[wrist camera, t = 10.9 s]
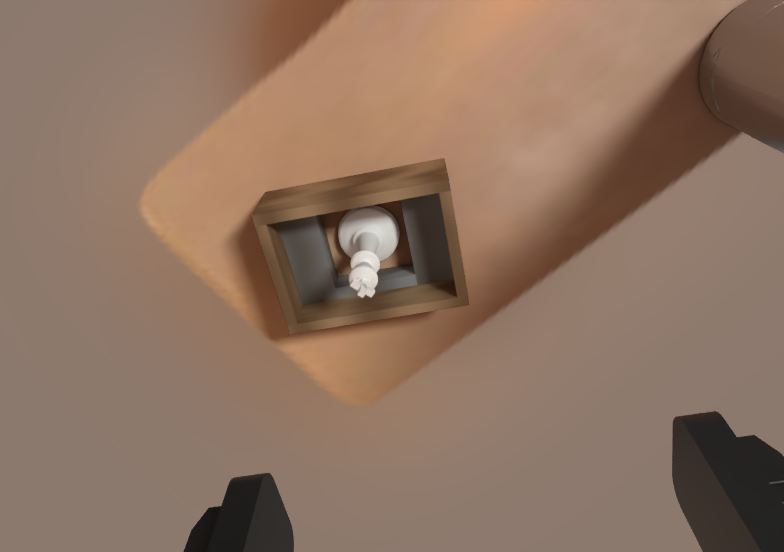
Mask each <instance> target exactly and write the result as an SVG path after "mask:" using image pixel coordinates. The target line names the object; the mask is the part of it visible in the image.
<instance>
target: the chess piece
mask: <svg viewBox="0 0 784 552" xmlns="http://www.w3.org/2000/svg"><path fill="white" fill-rule="evenodd" d="M399 237H400V230H399V226H398V223H397V221H396V219H395V218H394V216H393V215H392V214H391V213H390V212H389V211H387V210H386V209H384V208H382V207H380V206H376V205H370V206H365V207H359V208H354V209H351V210H349V211H348V212H347V213H346V214H345V215H344V216H343V218H342V219H341V221H340V223H339V227H338V238H339V243H340V245H341V248H342V249H343V251H344V252H345V253H346V254H347V255H348V256H349V257H350V258H351V262H350V266H351V269H352V271H351V272H350V275H349V283H350V286H351V287H352V288H353V289H354V290H356V291H358V293H357V295H358V296H360V297H362V298H363V297H364V296H365V294H366V295H367V296H369V297H371V298H372V296H373V295H374V293H375V289H374V288H375V287H376V285H377V283H378V276H377V272H378V270H379V268H380V262H381V261H383V260H385V259H386V258H388V257H389V256H390V255H391V254H392V253H393V252H394V250H395V249H396V247H397V244H398V242H399Z"/></svg>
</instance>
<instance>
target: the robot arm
mask: <svg viewBox="0 0 784 552" xmlns="http://www.w3.org/2000/svg"><path fill="white" fill-rule="evenodd" d="M699 82H700V90H701V93H702V96H703V99H704V102H705V103H706V105H707V107H708V108H709V110H710V111H711V112H712V113H713V114H714V115H715V116H716V117H717V118H718V119H720V120H721V121H723V122H725V123H727V124H729V125H731V126H733V127H735V128H736V129H738V130H740V131H742V132H744V133H746V134H748V135H750V136H751V137H753V138H755V139H757V140H759V141H761V142H763V143H765V144H767V145H769V146H770V147H773V148H775V149H776V150H778V151H780V152H782V153H784V0H748V1H746V2H744V3H743V4H741V5H740V6H738V7H737V8H736V9H734V10H733V11H732V12H731V13H730V14H729V15H728V16H727V17H726V18H725V19H724V20H723V21H722V22H721V23H720V25H719V26H718V27H717V28H716V30H715V31H714V32H713V34H712V36H711V38H710V40H709V42H708V43H707V45H706V47H705V50H704V53H703V56H702V59H701V64H700V72H699ZM672 453H673V455H672V476H673V484H674V489H675V492H676V496H677V499H678V502H679V504H680V507H681V509H682V511H683V513H684V515H685V517H686V519H687V521H688V523H689V525H690V527H691V529H692V530H693V533H694V535H695V536H696V538H697V540H698V543H699V545H700V547H701V548H702V550H703V552H784V456H783V455H782V454H781V453H780V452H778V451H777V450H775V449H774V448H772V447H771V446H769V445H768V444H766V443H765V442H764V441H762V440H761V439H759V438H757V437H756V436H755V435H751V436H744V437H736V435H735V434H734V432H733V431H732V430H731V429H730V427H729V425H728V424H727V422H726V421H725V420H724V418H723V417H722V416H721V415H720V414H719V413H718V412H716V411H714V412H707V413H699V414H692V415H685V416H678V417H675V418H674V420H673V452H672ZM293 551H294V539H293V530H292V526H291V523H290V520H289V517H288V515H287V512H286V510H285V507H284V504H283V502H282V499H281V497H280V494H279V491H278V489H277V486H276V484H275V481H274V479H273V477H272V475H271V474H270V473H264V474H256V475H249V476H242V477H236V478H233V479H231V481H230V483H229V485H228V488H227V491H226V494H225V497H224V500H223V503H222V506H219V507H212V508H208V510H207V511H206V512H205V513H204V515H203V516H202V517H201V519H200V520H199V521H198V522H197V524H196V525H195V526H194V528H193V529H192V530H191V533H190V536H189V538H188V541H187V544H186V547H185V549H184V552H293Z"/></svg>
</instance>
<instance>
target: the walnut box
mask: <svg viewBox="0 0 784 552" xmlns="http://www.w3.org/2000/svg"><path fill="white" fill-rule="evenodd" d="M397 200H400V202H401V207H402V212H403V217H404V222H405V227H406V231H407V236H408V241H409V246H410V251H411V256H412V261H413V264H409V265H404V266H398V267H392V268H386V269H380V270H378V272H377V276H378V283H377V285H376V287H375V288H374V289H375V293H374V295H373V296H372V298H371V297H369V296H367V295H366V294H365V296H364V297H363V298H362V297H360V296H358V295H357V293H358V291H356V290H354V289H353V288H352V287H351V286H350V283H349V275H346V276H340V277H338V276H337V272H336V269H335V265H334V261H333V258H332V254H331V250H330V247H329V243H328V239H327V235H326V232H325V228H324V224H323V221H322V217H321V214H327V213H332V212H338V211H343V210H349V209H354V208H359V207H365V206H370V205H376V204H381V203H387V202H392V201H397ZM252 219H253V222H254V225H255V228H256V231H257V234H258V238H259V241H260V244H261V247H262V250H263V253H264V256H265V259H266V262H267V265H268V268H269V271H270V274H271V277H272V280H273V284H274V287H275V290H276V293H277V296H278V299H279V302H280V305H281V308H282V311H283V314H284V317H285V320H286V323H287V326H288V329H289V333H290V334H296V333H302V332H308V331H314V330H320V329H326V328H332V327H338V326H344V325H350V324H357V323H363V322H369V321H375V320H381V319H387V318H393V317H399V316H405V315H411V314H417V313H423V312H430V311H436V310H442V309H448V308H454V307H460V306H466V305H469V299H468V293H467V287H466V281H465V275H464V269H463V263H462V257H461V251H460V245H459V238H458V232H457V226H456V220H455V214H454V208H453V202H452V196H451V190H450V184H449V178H448V173H447V169H446V164H445V159H444V158H443V159H438V160H433V161H428V162H422V163H417V164H412V165H406V166H401V167H396V168H391V169H385V170H380V171H375V172H370V173H364V174H359V175H354V176H349V177H343V178H338V179H333V180H327V181H322V182H317V183H312V184H306V185H301V186H296V187H291V188H285V189H280V190H275V191H269V192H265V194H264V196H263V198H262V199H261V201H260V203H259V204H258V206H257V208H256V210H255V211H254V213H253V215H252Z"/></svg>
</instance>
